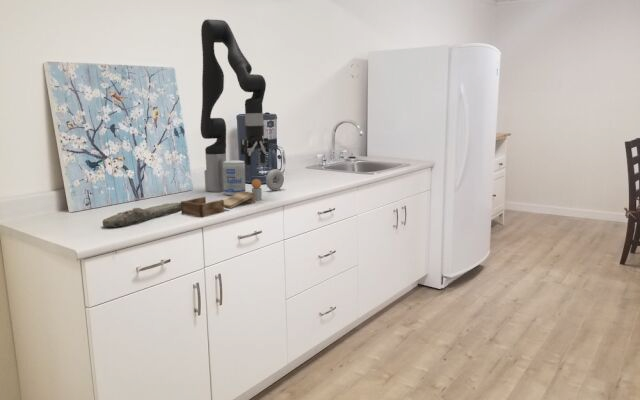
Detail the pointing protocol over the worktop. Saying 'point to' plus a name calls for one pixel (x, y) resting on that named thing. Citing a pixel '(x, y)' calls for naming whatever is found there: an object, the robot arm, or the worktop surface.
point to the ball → (256, 183)
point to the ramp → (239, 199)
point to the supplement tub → (233, 177)
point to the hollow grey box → (257, 193)
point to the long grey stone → (140, 215)
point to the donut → (278, 183)
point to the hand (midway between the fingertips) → (255, 164)
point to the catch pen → (201, 207)
